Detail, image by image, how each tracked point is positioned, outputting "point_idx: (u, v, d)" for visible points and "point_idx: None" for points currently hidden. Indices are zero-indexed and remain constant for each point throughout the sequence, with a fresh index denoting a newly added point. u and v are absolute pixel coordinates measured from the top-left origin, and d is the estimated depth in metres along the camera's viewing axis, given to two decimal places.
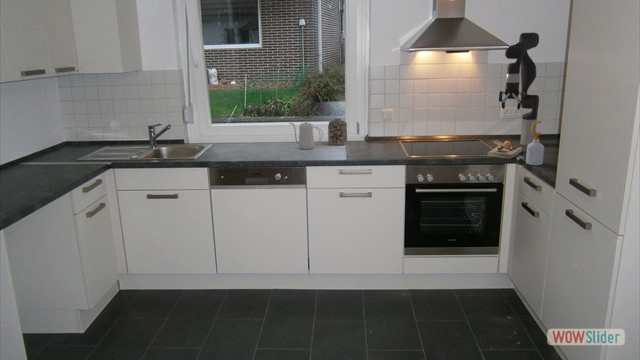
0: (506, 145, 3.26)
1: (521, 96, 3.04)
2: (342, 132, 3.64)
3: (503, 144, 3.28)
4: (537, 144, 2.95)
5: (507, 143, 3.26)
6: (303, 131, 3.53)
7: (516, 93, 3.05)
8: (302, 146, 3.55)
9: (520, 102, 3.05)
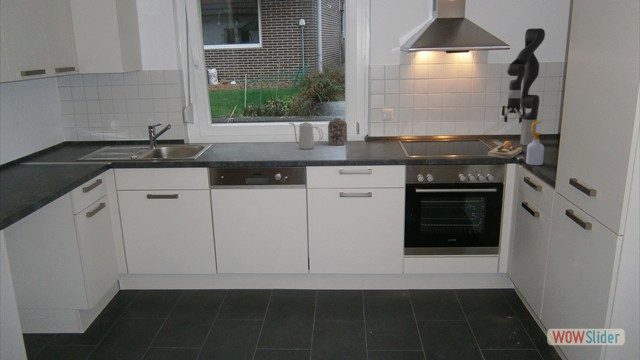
0: (506, 145, 3.26)
1: None
2: (342, 132, 3.64)
3: (503, 144, 3.28)
4: (537, 144, 2.95)
5: (507, 143, 3.26)
6: (303, 131, 3.53)
7: (518, 108, 3.26)
8: (302, 146, 3.55)
9: (521, 116, 3.26)
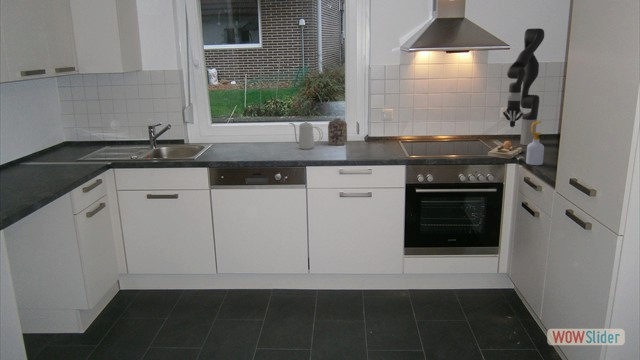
0: (506, 145, 3.26)
1: (519, 115, 3.27)
2: (342, 132, 3.64)
3: (503, 144, 3.28)
4: (537, 144, 2.95)
5: (507, 143, 3.26)
6: (303, 131, 3.53)
7: (517, 110, 3.27)
8: (302, 146, 3.55)
9: (514, 121, 3.30)
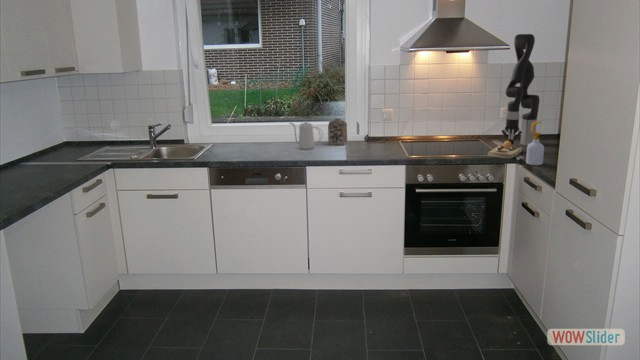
0: (506, 145, 3.26)
1: (517, 134, 3.30)
2: (342, 132, 3.64)
3: (503, 144, 3.28)
4: (537, 144, 2.95)
5: (507, 143, 3.26)
6: (303, 131, 3.53)
7: (516, 129, 3.29)
8: (302, 146, 3.55)
9: (513, 139, 3.32)
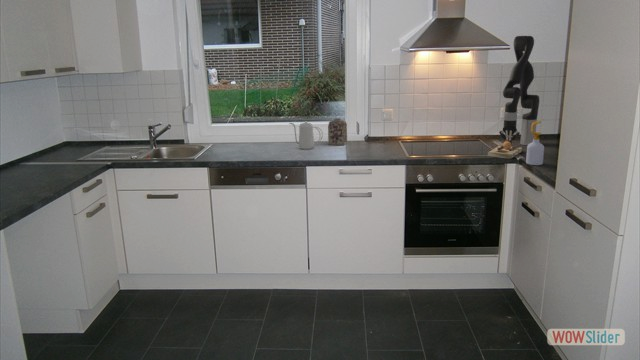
0: (506, 146, 3.26)
1: (515, 135, 3.26)
2: (342, 132, 3.64)
3: (503, 145, 3.28)
4: (537, 144, 2.95)
5: (507, 144, 3.25)
6: (303, 131, 3.53)
7: (513, 130, 3.26)
8: (302, 146, 3.55)
9: (510, 140, 3.29)
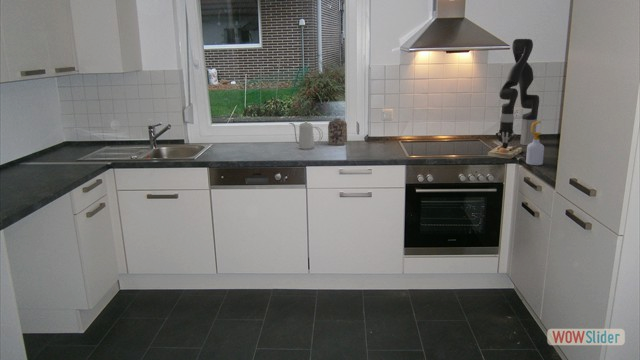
0: None
1: (511, 137, 3.20)
2: (342, 132, 3.64)
3: None
4: (537, 144, 2.95)
5: None
6: (303, 131, 3.53)
7: (510, 132, 3.20)
8: (302, 146, 3.55)
9: (507, 142, 3.23)
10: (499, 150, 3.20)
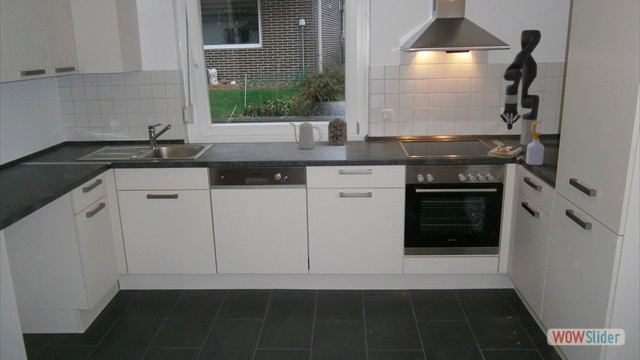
0: None
1: (516, 118, 3.23)
2: (342, 132, 3.64)
3: None
4: (537, 144, 2.95)
5: None
6: (303, 131, 3.53)
7: (514, 113, 3.22)
8: (302, 146, 3.55)
9: (511, 123, 3.26)
10: (500, 149, 3.21)
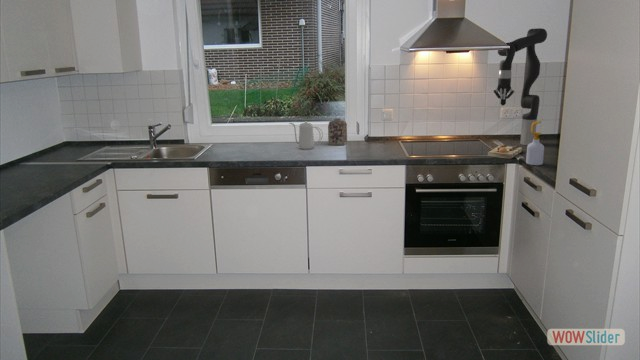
0: None
1: None
2: (342, 132, 3.64)
3: None
4: (537, 144, 2.95)
5: None
6: (303, 131, 3.53)
7: (508, 88, 3.24)
8: (302, 146, 3.55)
9: (505, 99, 3.27)
10: (500, 148, 3.21)
